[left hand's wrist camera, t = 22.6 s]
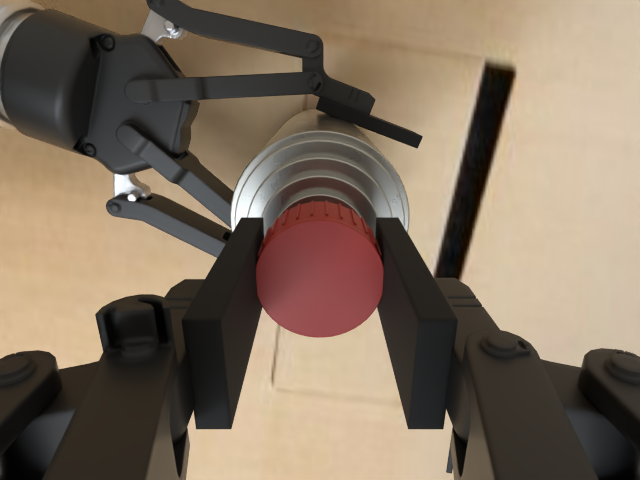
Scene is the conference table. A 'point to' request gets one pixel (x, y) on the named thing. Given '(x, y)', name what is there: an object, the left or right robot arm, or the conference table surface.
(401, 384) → the left robot arm
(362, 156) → the bottle
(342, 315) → the cap
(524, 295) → the conference table surface
